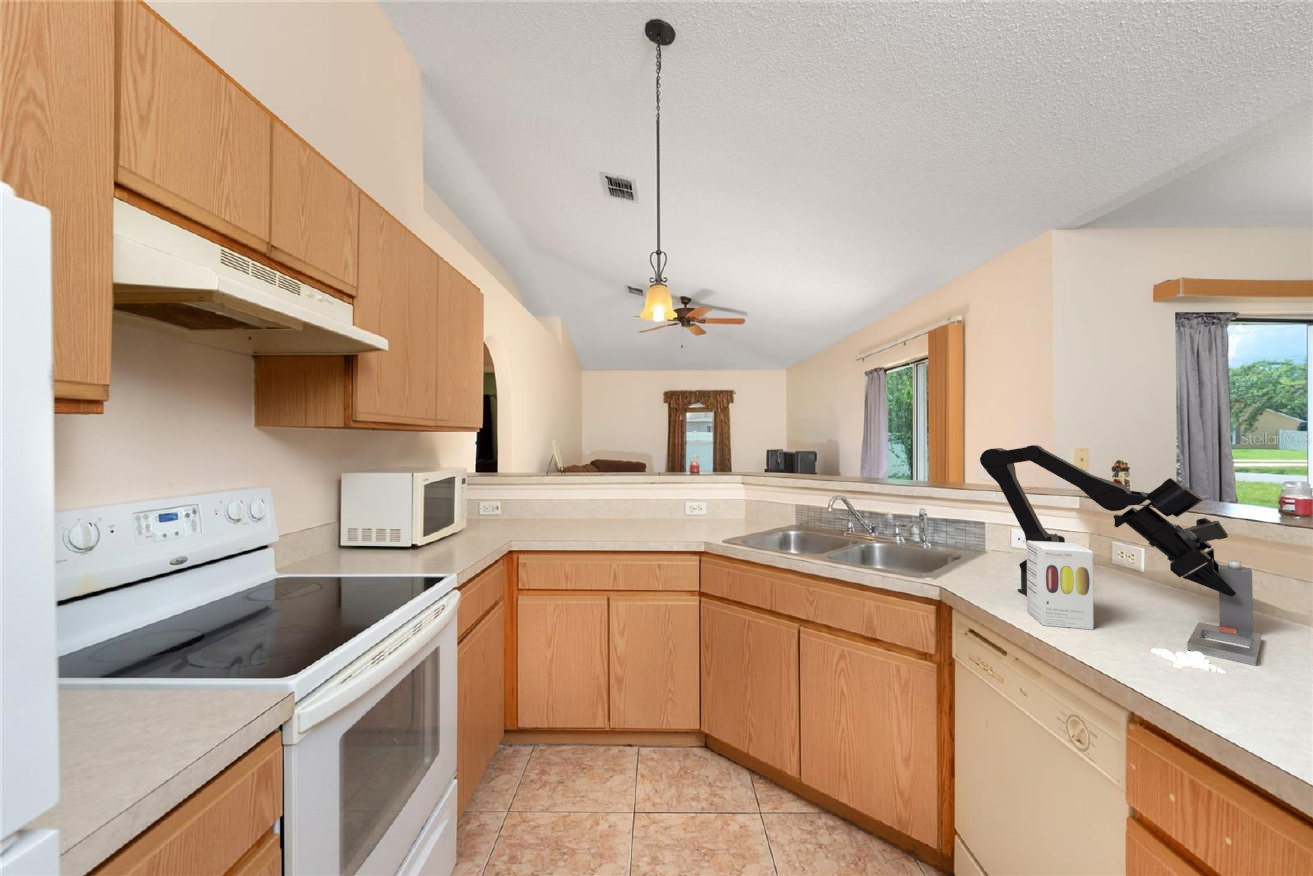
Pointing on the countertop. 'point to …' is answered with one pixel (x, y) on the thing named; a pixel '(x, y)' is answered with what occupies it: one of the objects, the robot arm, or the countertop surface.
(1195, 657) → the acanthus leaf ornament
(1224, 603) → the plug
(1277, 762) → the countertop surface
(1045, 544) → the supplement box
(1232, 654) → the socket plate
